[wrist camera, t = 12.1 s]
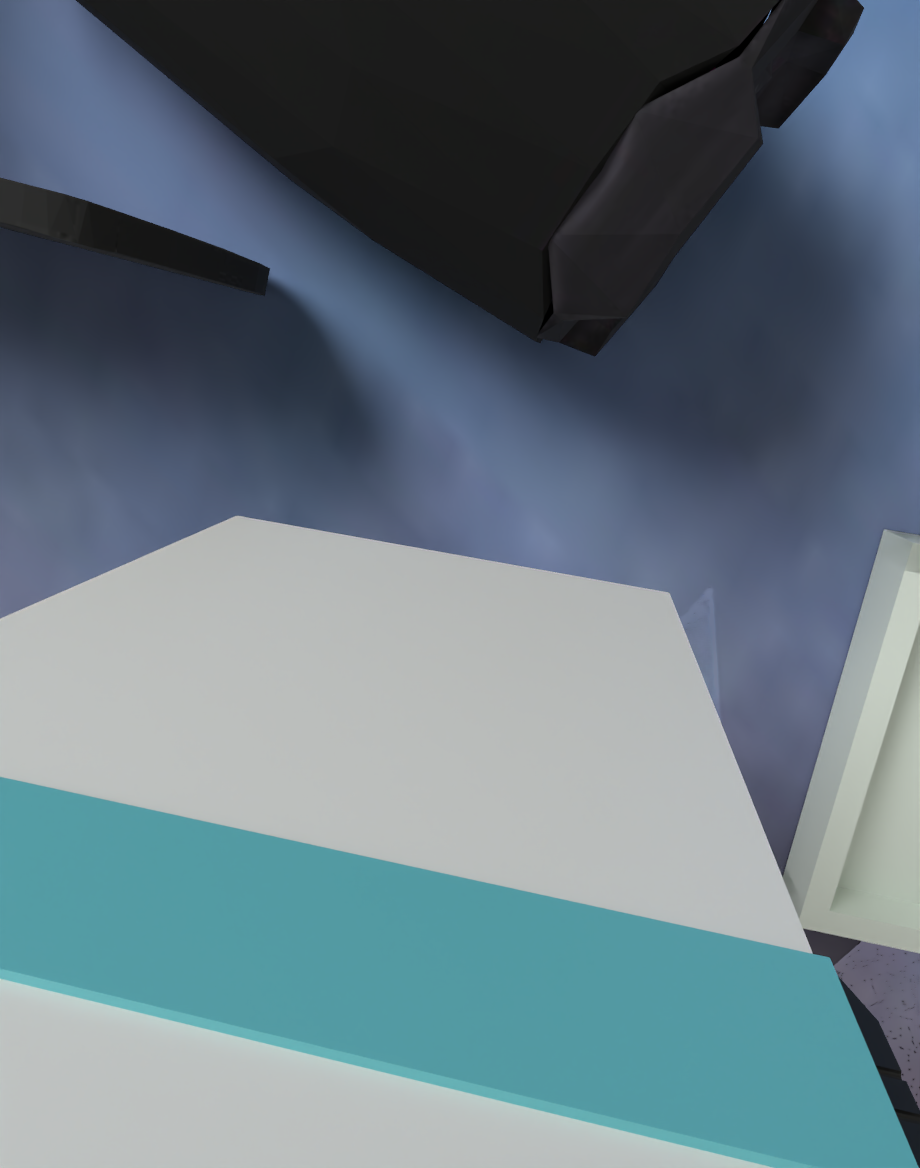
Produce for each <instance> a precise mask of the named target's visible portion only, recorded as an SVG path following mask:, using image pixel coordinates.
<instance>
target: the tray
mask: <svg viewBox="0 0 920 1168" xmlns="http://www.w3.org/2000/svg"><path fill="white" fill-rule="evenodd" d="M783 880H784V882H785V885H786V887H787V890H788V893H789V895H790V898H791V900H792V903H793V905H794V908H795V910H796V913H797V915H798V918H799V920H800V923H801V925H802V928H804V929H809V930H813V931H818V932H823V933H827V934H832V935H837V936H841V937H846V938H851V939H855V940H860V941H865V942H869V943H874V944H879V945H883V946H888V947H893V948H897V949H902V950H907V951H912V952H916V953H920V535H916V534H910V533H904V532H898V531H892V530H886V529H884V531H883V535H882V538H881V541H880V545H879V548H878V552H877V555H876V559H875V562H874V565H873V569H872V572H871V576H870V579H869V583H868V586H867V589H866V593H865V596H864V600H863V603H862V607H861V610H860V613H859V617H858V620H857V624H856V627H855V631H854V634H853V638H852V641H851V644H850V648H849V651H848V655H847V658H846V662H845V665H844V668H843V672H842V675H841V679H840V682H839V686H838V689H837V692H836V696H835V699H834V703H833V706H832V710H831V713H830V716H829V720H828V723H827V727H826V730H825V734H824V737H823V740H822V744H821V747H820V751H819V754H818V758H817V761H816V764H815V768H814V771H813V775H812V778H811V782H810V785H809V789H808V792H807V795H806V799H805V802H804V806H803V809H802V813H801V816H800V819H799V823H798V826H797V830H796V833H795V837H794V840H793V843H792V847H791V850H790V854H789V857H788V861H787V864H786V867H785V871H784V874H783Z"/></svg>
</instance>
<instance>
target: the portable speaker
mask: <svg viewBox="0 0 920 1168" xmlns="http://www.w3.org/2000/svg"><path fill="white" fill-rule="evenodd" d="M76 1H77V2H79V3H80V4H81V5H82V6H83V7H85V8H86V9H87V10H88V11H89V12H91V13H92V14H93V15H94V16H95V17H97V18H98V19H99V20H100V21H101V22H102V23H104V24H105V25H106V26H107V27H108V28H110V29H111V30H112V31H113V32H114V33H116V34H117V35H118V36H119V37H120V38H122V39H123V40H124V41H125V42H126V43H128V44H129V45H130V46H131V47H132V48H134V49H135V50H136V51H137V52H138V53H140V54H141V55H142V56H143V57H144V58H145V59H147V60H148V61H149V62H150V63H151V64H153V65H154V66H155V67H156V68H157V69H159V70H160V71H161V72H162V73H163V74H165V75H166V76H167V77H168V78H169V79H171V80H172V81H173V82H174V83H175V84H177V85H178V86H179V87H180V88H181V89H183V90H184V91H185V92H186V93H187V94H189V95H190V96H191V97H192V98H193V99H194V100H196V101H197V102H198V103H199V104H200V105H202V106H203V107H204V108H205V109H206V110H208V111H209V112H210V113H211V114H212V115H214V116H215V117H216V118H217V119H218V120H220V121H221V122H222V123H223V124H224V125H226V126H227V127H228V128H229V129H230V130H232V131H233V132H234V133H235V134H236V135H237V136H239V137H240V138H241V139H242V140H243V141H245V142H246V143H247V144H248V145H249V146H251V147H252V148H253V149H254V150H255V151H257V152H258V153H259V154H260V155H261V156H263V157H264V158H265V159H266V160H267V161H269V162H270V163H271V164H272V165H273V166H275V167H276V168H277V169H278V170H279V171H280V172H282V173H283V174H284V175H285V176H286V177H288V178H289V179H290V180H291V181H293V182H294V183H296V184H297V185H298V186H300V187H301V188H302V189H304V190H305V191H307V192H308V193H309V194H311V195H312V196H313V197H315V198H316V199H317V200H319V201H320V202H322V203H323V204H324V205H326V206H327V207H328V208H330V209H331V210H333V211H334V212H335V213H337V214H338V215H339V216H341V217H342V218H344V219H345V220H346V221H348V222H349V223H350V224H352V225H353V226H354V227H356V228H357V229H359V230H360V231H361V232H363V233H364V234H365V235H367V236H368V237H370V238H371V239H372V240H374V241H375V242H377V243H378V244H380V245H382V246H383V247H385V248H387V249H388V250H390V251H391V252H393V253H395V254H396V255H398V256H399V257H401V258H403V259H404V260H406V261H407V262H409V263H411V264H412V265H414V266H415V267H417V268H419V269H420V270H422V271H423V272H425V273H427V274H428V275H430V276H431V277H433V278H435V279H436V280H438V281H439V282H441V283H443V284H444V285H446V286H447V287H449V288H451V289H452V290H454V291H456V292H457V293H459V294H460V295H462V296H464V297H465V298H467V299H468V300H470V301H472V302H473V303H475V304H476V305H478V306H480V307H481V308H483V309H484V310H486V311H488V312H489V313H491V314H492V315H494V316H496V317H497V318H499V319H500V320H502V321H504V322H505V323H507V324H508V325H510V326H512V327H513V328H515V329H516V330H518V331H520V332H521V333H523V334H525V335H526V336H528V337H529V338H531V339H533V340H534V341H536V342H539V343H541V341H542V339H545V340H550V341H555V342H559V343H562V344H564V345H567V346H570V347H572V348H575V349H577V350H580V351H582V352H585V353H587V354H590V355H593V356H596V355H597V354H598V352H599V351H600V350H601V349H602V348H603V347H604V345H605V344H606V343H607V342H608V341H609V340H610V338H611V337H612V336H613V335H614V334H615V333H616V331H617V330H618V329H619V328H620V327H621V326H622V324H623V323H624V322H625V321H626V320H627V319H628V317H629V316H630V315H631V314H632V313H633V312H634V311H635V309H636V308H637V307H638V306H639V305H640V304H641V302H642V301H643V300H644V299H645V298H646V297H647V295H648V294H649V293H650V292H651V291H652V290H653V288H654V287H655V286H656V285H657V283H658V281H659V280H660V278H661V277H662V275H663V274H664V272H665V271H666V269H667V268H668V266H669V264H670V263H671V261H672V260H673V258H674V257H675V255H676V254H677V253H678V252H679V250H680V249H681V248H682V246H683V245H684V244H685V243H686V241H687V240H688V239H689V237H690V236H691V235H692V234H693V232H694V231H695V230H696V229H697V227H698V226H699V225H700V223H701V222H702V221H703V220H704V218H705V217H706V216H707V215H708V213H709V212H710V211H711V209H712V208H713V207H714V206H715V204H716V203H717V202H718V200H719V199H720V198H721V197H722V195H723V194H724V193H725V192H726V190H727V189H728V188H729V186H730V185H731V184H732V183H733V181H734V180H735V179H736V178H737V176H738V175H739V174H740V172H741V171H742V170H743V169H744V167H745V166H746V165H747V163H748V162H749V161H750V160H751V158H752V157H753V156H754V155H755V153H756V152H757V151H758V149H759V148H760V147H761V146H762V144H763V140H762V133H761V127H760V126H765V127H772V128H779V127H780V126H781V125H782V124H783V123H784V122H785V121H786V119H787V118H788V117H789V116H790V115H791V114H792V113H793V111H794V110H795V109H796V108H797V107H798V106H799V105H800V104H801V102H802V101H803V100H804V99H805V98H806V97H807V96H808V94H809V93H810V92H811V91H812V90H813V89H814V88H815V86H816V85H817V84H818V83H819V82H820V81H821V80H822V79H823V77H824V76H825V75H826V74H827V72H828V71H829V69H830V68H831V66H832V65H833V63H834V62H835V60H836V59H837V57H838V56H839V54H840V53H841V51H842V50H843V48H844V47H845V45H846V44H847V42H848V41H849V39H850V38H851V36H852V35H853V33H854V30H855V28H856V26H857V23H858V21H859V19H860V16H861V14H862V12H863V9H864V7H863V6H862V5H861V4H860V3H859V2H858V1H857V0H76ZM771 9H772V10H771ZM770 10H771V13H770V15H769V18H768V19H767V20H766V18H767V16H768V14H769V12H770ZM765 20H766V22H765ZM764 22H765V23H764Z"/></svg>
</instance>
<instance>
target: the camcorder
mask: <svg viewBox="0 0 920 1168" xmlns="http://www.w3.org/2000/svg"><path fill="white" fill-rule="evenodd" d="M0 227H2V228H6V229H9V230H13V231H17V232H21V233H25V234H29V235H32V236H36V237H40V238H44V239H48V240H52V241H55V242H59V243H63V244H67V245H71V246H74V247H78V248H82V249H86V250H90V251H94V252H97V253H101V254H105V255H109V256H113V257H117V258H120V259H124V260H128V261H132V262H136V263H139V264H143V265H147V266H151V267H155V268H159V269H162V270H166V271H170V272H174V273H178V274H182V275H185V276H189V277H193V278H197V279H201V280H205V281H208V282H212V283H216V284H220V285H224V286H227V287H231V288H235V289H239V290H243V291H247V292H250V293H254V294H258V295H264V296H265V291H266V286H267V281H268V276H269V271H270V268H268V267H266V266H264V265H262V264H260V263H257V262H255V261H252V260H250V259H247V258H245V257H242V256H240V255H237V254H235V253H232V252H230V251H227V250H225V249H222V248H220V247H217V246H214V245H211V244H209V243H206V242H203V241H200V240H198V239H195V238H192V237H189V236H187V235H184V234H181V233H178V232H176V231H173V230H170V229H167V228H164V227H161V226H158V225H156V224H153V223H150V222H147V221H144V220H141V219H138V218H135V217H132V216H130V215H127V214H124V213H121V212H118V211H115V210H112V209H109V208H106V207H103V206H100V205H97V204H94V203H92V202H89V201H85V200H82V199H79V198H75V197H72V196H69V195H65V194H62V193H58V192H54V191H50V190H46V189H42V188H38V187H34V186H30V185H27V184H23V183H19V182H15V181H11V180H7V179H3V178H0Z"/></svg>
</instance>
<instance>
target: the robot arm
mask: <svg viewBox="0 0 920 1168" xmlns="http://www.w3.org/2000/svg"><path fill="white" fill-rule="evenodd" d="M838 978H839V977H838ZM839 981H840V983H841V985H842V988H843V990H844V992H845V995H846V997H847V1000H848V1002H849V1004H850V1007H851V1009H852V1011H853V1014H854V1016H855V1018H856V1021H857V1023H858V1026H859V1028H860V1030H861V1033H862V1035H863V1037H864V1040H865V1042H866V1044H867V1047H868V1049H869V1051H870V1054H871V1056H872V1059H873V1061H874V1063H875V1066H876V1068H877V1070H878V1073H879V1075H880V1077H881V1080H882V1082H883V1085H884V1087H885V1089H886V1092H887V1094H888V1096H889V1099H890V1101H891V1103H892V1106H893V1108H894V1110H895V1113H896V1115H897V1118H898V1120H899V1122H900V1125H901V1127H902V1129H903V1132H904V1134H905V1136H906V1139H907V1141H908V1144H909V1146H910V1148H911V1151H912V1153H913V1155H914V1158H915V1160H916V1162H917V1165H918V1167H919V1168H920V1110H919V1108H918V1106H917V1104H916V1102H915V1099H914V1097H913V1095H912V1093H911V1091H910V1089H909V1086H908V1084H907V1082H906V1081H902V1079H901V1069H900V1067H899V1065H898V1063H897V1061H896V1058H895V1056H894V1054H893V1052H892V1050H891V1048H890V1045H889V1043H888V1041H887V1039H886V1037H885V1035H884V1032H883V1030H882V1028H881V1026H880V1024H879V1022H878V1020H877V1019H876V1018H875V1017H874V1016H873V1015H872V1014H871V1013H870V1011H869V1010H868V1009H867V1008H866V1007H865V1006H864V1005H863V1004H862V1002H861V1001H860V1000H859V999H858V998H857V997H856V996H855V995H854V993H853V992H852V991H851V990H850V989H849V988H848V987H847V986H846V984H845V983H844V982H843V981H842V980H841V979H840V978H839Z"/></svg>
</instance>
